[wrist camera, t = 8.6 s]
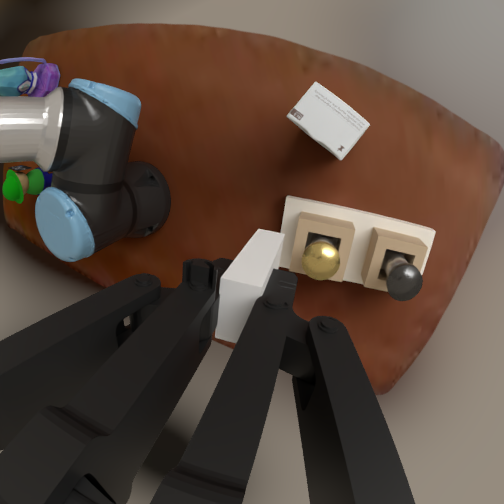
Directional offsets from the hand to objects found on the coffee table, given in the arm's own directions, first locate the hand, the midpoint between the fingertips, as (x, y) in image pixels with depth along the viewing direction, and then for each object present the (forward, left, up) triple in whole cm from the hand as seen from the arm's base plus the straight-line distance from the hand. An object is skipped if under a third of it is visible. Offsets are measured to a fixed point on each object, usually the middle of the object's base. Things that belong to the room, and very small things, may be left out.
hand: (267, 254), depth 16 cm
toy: (-64, -5, -33) cm, 72 cm away
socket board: (+10, -8, -33) cm, 35 cm away
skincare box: (+2, +10, -33) cm, 35 cm away
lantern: (-67, +21, -33) cm, 77 cm away
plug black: (+16, -8, -29) cm, 35 cm away
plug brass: (+4, -8, -31) cm, 32 cm away
